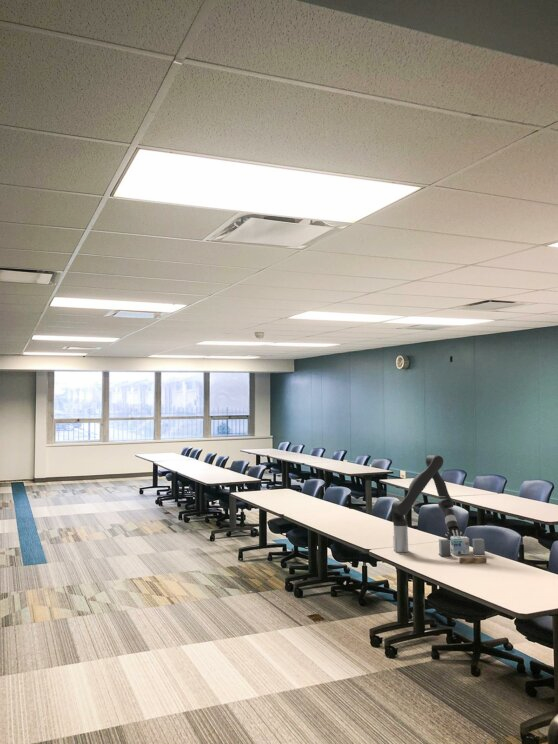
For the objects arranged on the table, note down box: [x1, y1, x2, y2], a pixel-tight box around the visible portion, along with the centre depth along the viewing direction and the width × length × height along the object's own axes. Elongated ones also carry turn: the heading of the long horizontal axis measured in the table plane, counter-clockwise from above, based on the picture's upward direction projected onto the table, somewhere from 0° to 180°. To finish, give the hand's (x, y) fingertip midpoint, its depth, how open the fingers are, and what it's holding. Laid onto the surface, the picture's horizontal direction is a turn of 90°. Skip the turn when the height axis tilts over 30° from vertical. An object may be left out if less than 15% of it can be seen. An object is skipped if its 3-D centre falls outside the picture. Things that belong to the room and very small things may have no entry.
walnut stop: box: [458, 556, 488, 565], centre depth 371 cm, size 16×2×3 cm, turn 91°
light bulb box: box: [449, 535, 470, 556], centre depth 397 cm, size 11×7×11 cm, turn 93°
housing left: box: [438, 538, 453, 558], centre depth 392 cm, size 7×6×10 cm
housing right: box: [472, 537, 486, 556], centre depth 393 cm, size 7×6×10 cm
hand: (458, 545), depth 401 cm, fingers closed
